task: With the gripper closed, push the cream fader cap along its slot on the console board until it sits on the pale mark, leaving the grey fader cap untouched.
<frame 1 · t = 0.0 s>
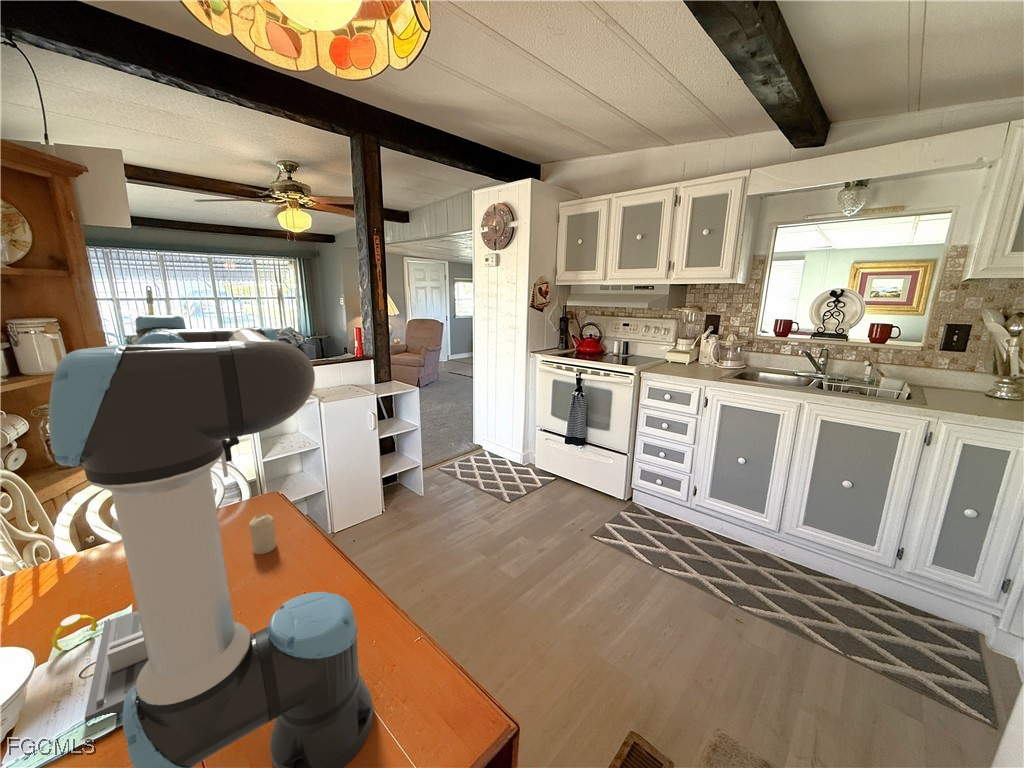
hand: (188, 483, 87), 28 cm above the table, fingers open, 13 cm apart
cream fader cap: (184, 600, 85), point 4 cm above the table, slide at 0.0 cm
candle: (265, 548, 109), on the table
console board: (162, 646, 79), on the table
watch: (78, 644, 79), on the table
grey fader cap: (129, 650, 73), point 4 cm above the table, slide at 0.0 cm
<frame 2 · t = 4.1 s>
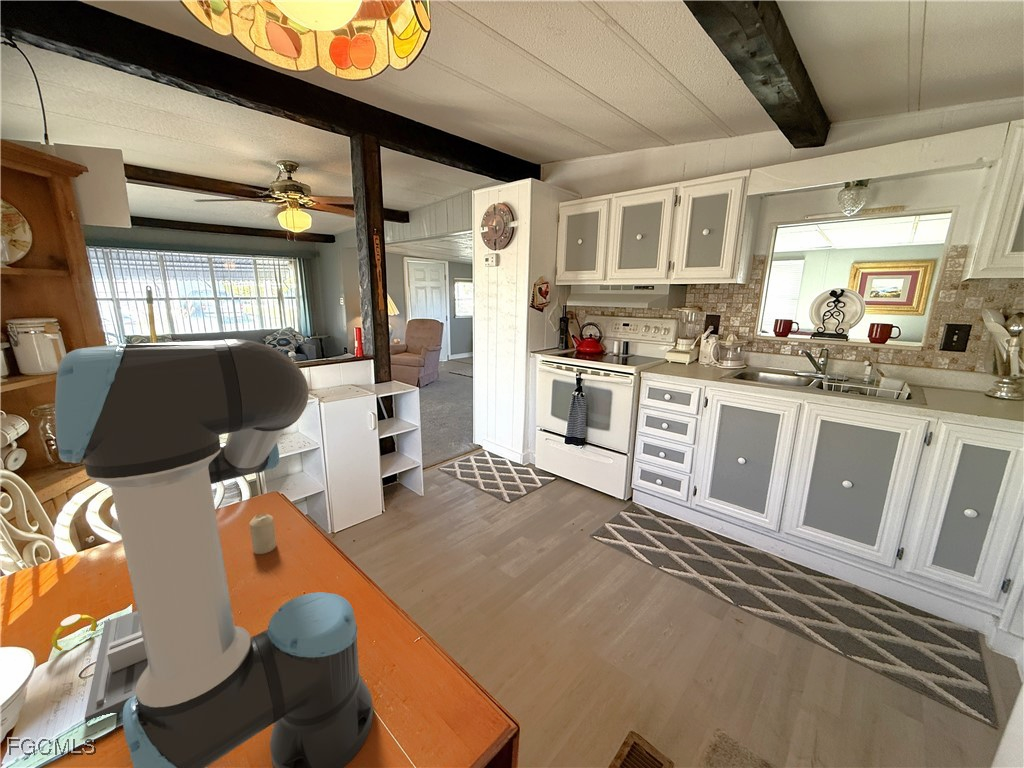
hand: (184, 598, 86), 3 cm above the table, fingers closed
cream fader cap: (184, 601, 84), point 4 cm above the table, slide at 0.2 cm, touching gripper
everything else where it was.
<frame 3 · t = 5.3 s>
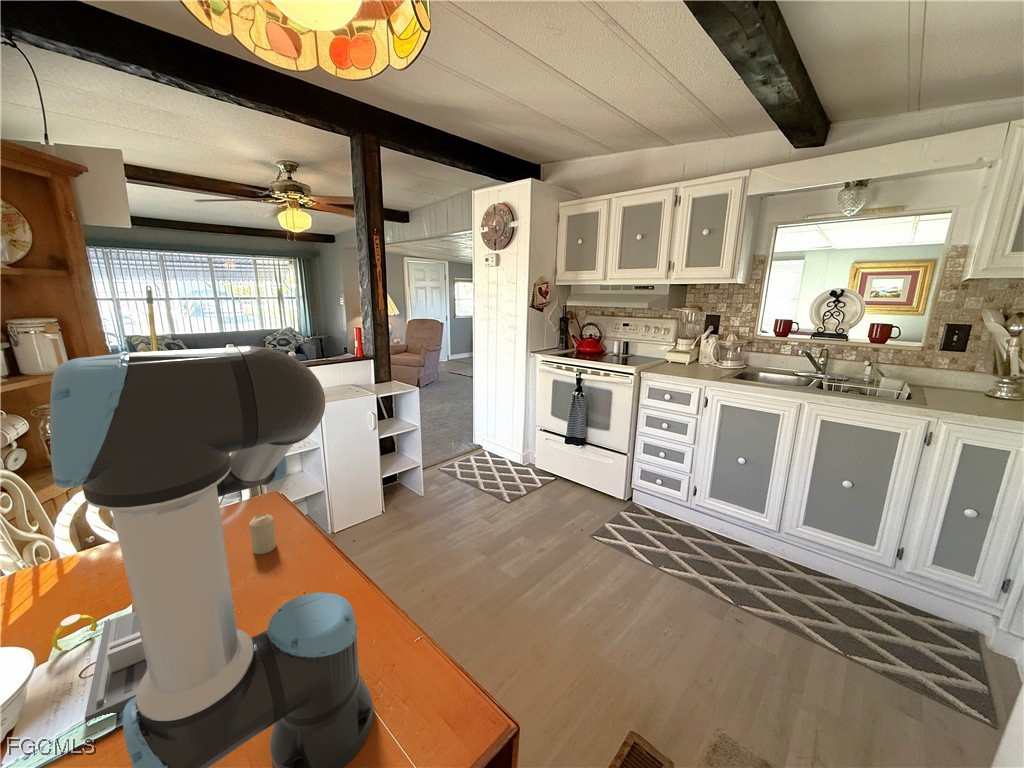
hand: (185, 618, 81), 3 cm above the table, fingers closed
cream fader cap: (184, 622, 79), point 4 cm above the table, slide at 7.2 cm, touching gripper
everything else where it was.
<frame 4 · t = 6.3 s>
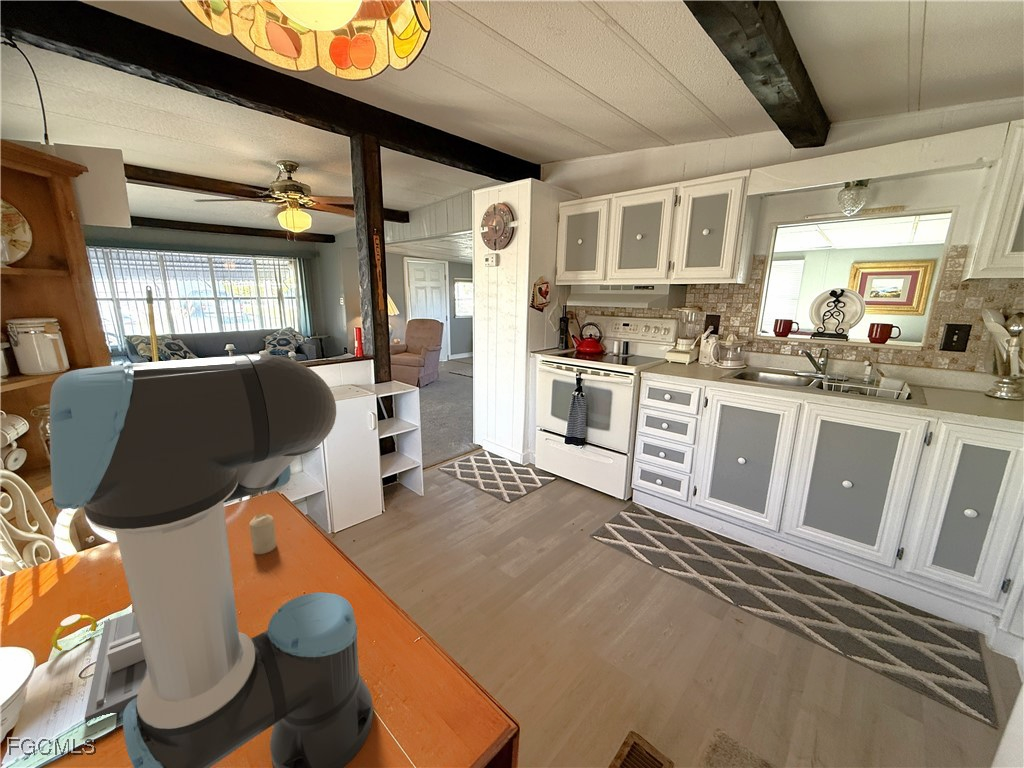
hand: (185, 628, 79), 4 cm above the table, fingers closed
cream fader cap: (184, 632, 77), point 4 cm above the table, slide at 10.4 cm, touching gripper
everything else where it was.
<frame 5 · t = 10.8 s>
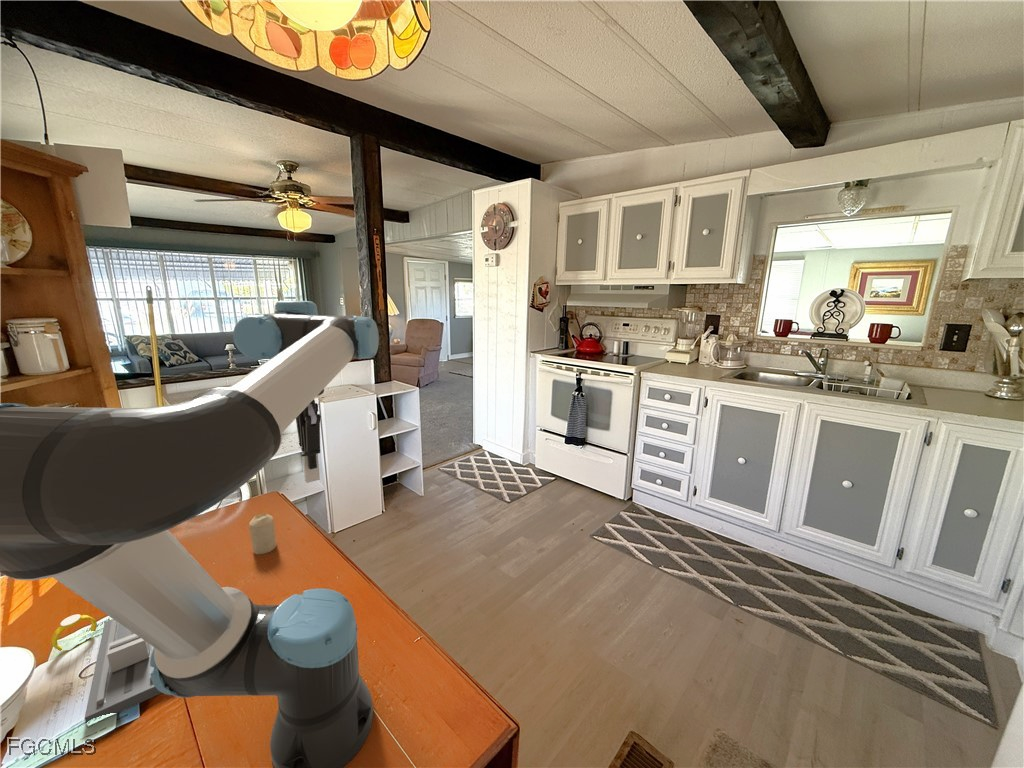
hand: (312, 480, 87), 29 cm above the table, fingers closed
cream fader cap: (184, 632, 77), point 4 cm above the table, slide at 10.4 cm
everything else where it was.
at the end: cream fader cap slide at 10.4 cm; grey fader cap moved 0.0 cm from its start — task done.
